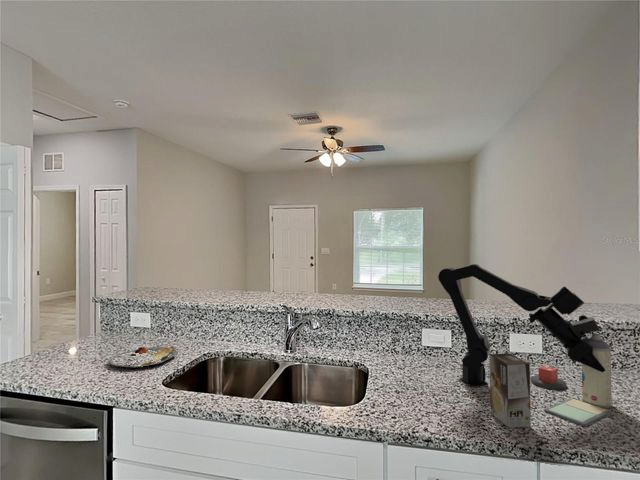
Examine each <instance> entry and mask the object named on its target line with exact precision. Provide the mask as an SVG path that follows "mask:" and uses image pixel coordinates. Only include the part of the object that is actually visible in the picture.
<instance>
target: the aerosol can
mask: <svg viewBox="0 0 640 480" xmlns="http://www.w3.org/2000/svg"><path fill="white" fill-rule="evenodd" d="M586 341H587V342H589V344H590V345H592V347H593V355H594V356H595V357H596V358H597V360H598V361H599V362H600V363H601V365H602V366H603V367H604V369H605V371H604V372H600V371H598V370H596V369H594V368H591V367H589V366H587V365H585V364H582V363H581V391H582V392H581V394H582V395H581V396H582V400H581V401H582V402H585V403H588V404H591V405H594V406H597V407H600V408H603V409H606V410H609V409H611V408H612V407H613V404H612V403H613V402H612V401H613V399H612V349H611V345H609V344H607V343H606V341H604V340H603V339H602V338H601V337H600V334H599V333H596V332H595V333H594V332H593V333H591V337H590V338H589V337H588V340H586Z"/></svg>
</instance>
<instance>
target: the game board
mask: <svg viewBox="0 0 640 480" xmlns="http://www.w3.org/2000/svg"><path fill="white" fill-rule="evenodd" d="M611 411H612V410H609V409H603V408H600V407H597V406H594V405H591V404H588V403H585V402H583V401H582V400H579V399H578V400H577V399H575V398H568V399H566V400H563V401H561V402H558V403H556V404H553V405H551V406H549V407H546V408H544V412H545V413H547V414H551V415H552V416H555V417H559V418H560V419H564V420H567V421H568V422H572V423H573V424H576V425H580V426H582V427H584V428H585V427H587V426H589V425H592V424H593V423H595V422H598V421H599V420H601V419H604V418H605V417H606V416H609V415H611V413H612V412H611Z"/></svg>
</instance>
